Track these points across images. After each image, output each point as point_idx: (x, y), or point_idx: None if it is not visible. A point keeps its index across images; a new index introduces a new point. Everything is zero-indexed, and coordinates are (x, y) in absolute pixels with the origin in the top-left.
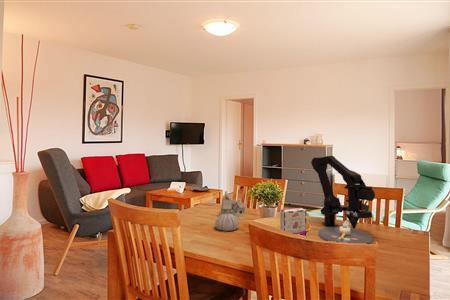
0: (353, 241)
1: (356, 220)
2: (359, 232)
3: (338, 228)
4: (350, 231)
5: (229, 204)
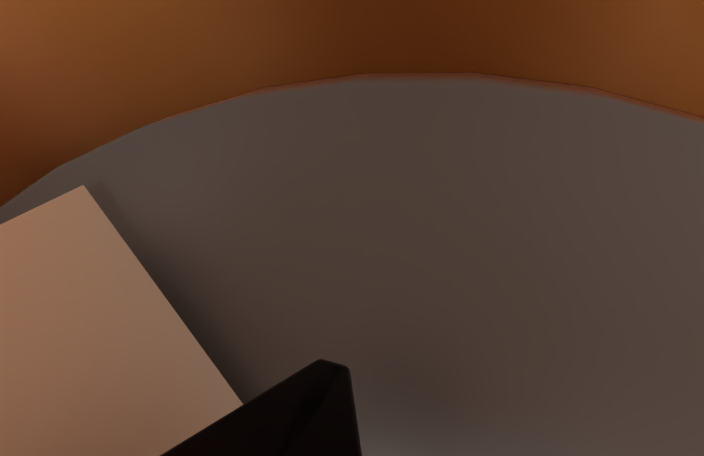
0: None
1: None
2: (542, 330)
3: None
4: None
5: None
